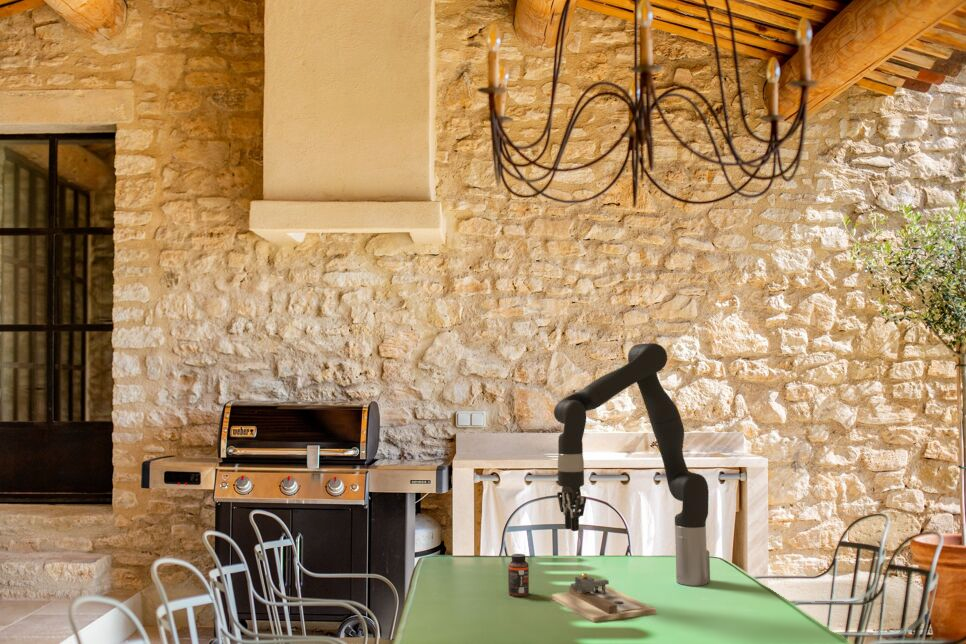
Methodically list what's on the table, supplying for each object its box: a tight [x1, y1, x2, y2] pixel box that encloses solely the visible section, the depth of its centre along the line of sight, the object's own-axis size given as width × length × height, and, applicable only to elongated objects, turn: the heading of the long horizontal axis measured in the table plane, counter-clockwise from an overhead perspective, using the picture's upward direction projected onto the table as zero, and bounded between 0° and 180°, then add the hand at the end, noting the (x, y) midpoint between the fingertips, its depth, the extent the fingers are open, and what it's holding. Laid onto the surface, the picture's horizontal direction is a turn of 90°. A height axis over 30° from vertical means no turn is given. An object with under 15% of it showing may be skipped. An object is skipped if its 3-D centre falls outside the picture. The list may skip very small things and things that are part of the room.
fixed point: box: [570, 582, 602, 592], centre depth 227 cm, size 9×2×3 cm, turn 112°
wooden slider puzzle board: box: [550, 585, 657, 623], centre depth 219 cm, size 19×24×3 cm
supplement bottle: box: [507, 553, 530, 598], centre depth 232 cm, size 6×6×11 cm
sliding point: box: [574, 573, 610, 595], centre depth 223 cm, size 9×4×6 cm, turn 112°
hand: (571, 529), depth 229 cm, fingers open, 3 cm apart
